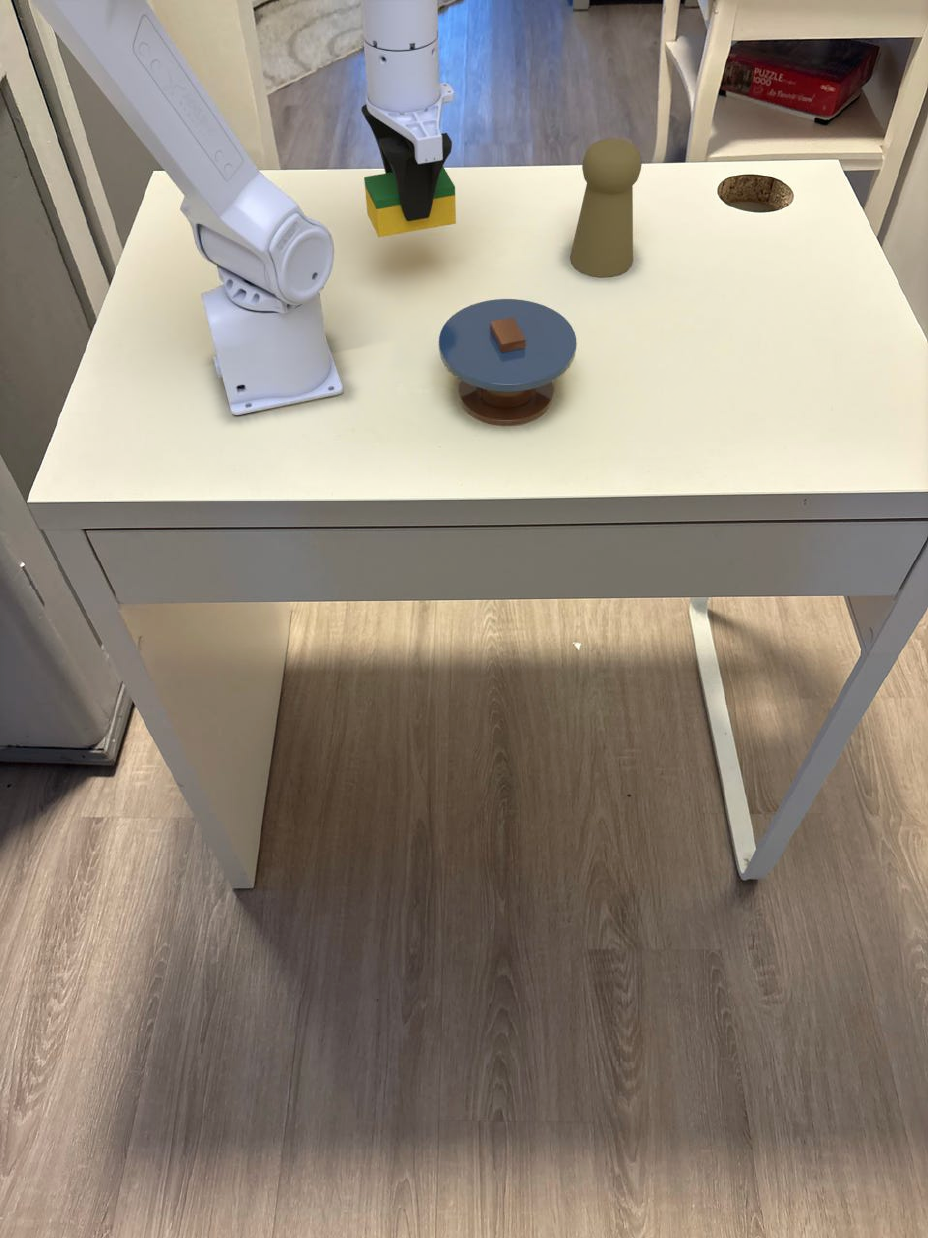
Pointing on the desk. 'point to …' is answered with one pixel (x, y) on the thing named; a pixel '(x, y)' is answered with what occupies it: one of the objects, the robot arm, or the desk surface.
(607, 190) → the olive chess pawn
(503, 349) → the brown flat block
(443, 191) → the sponge
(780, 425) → the desk surface
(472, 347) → the blue-grey round pedestal
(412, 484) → the desk surface
